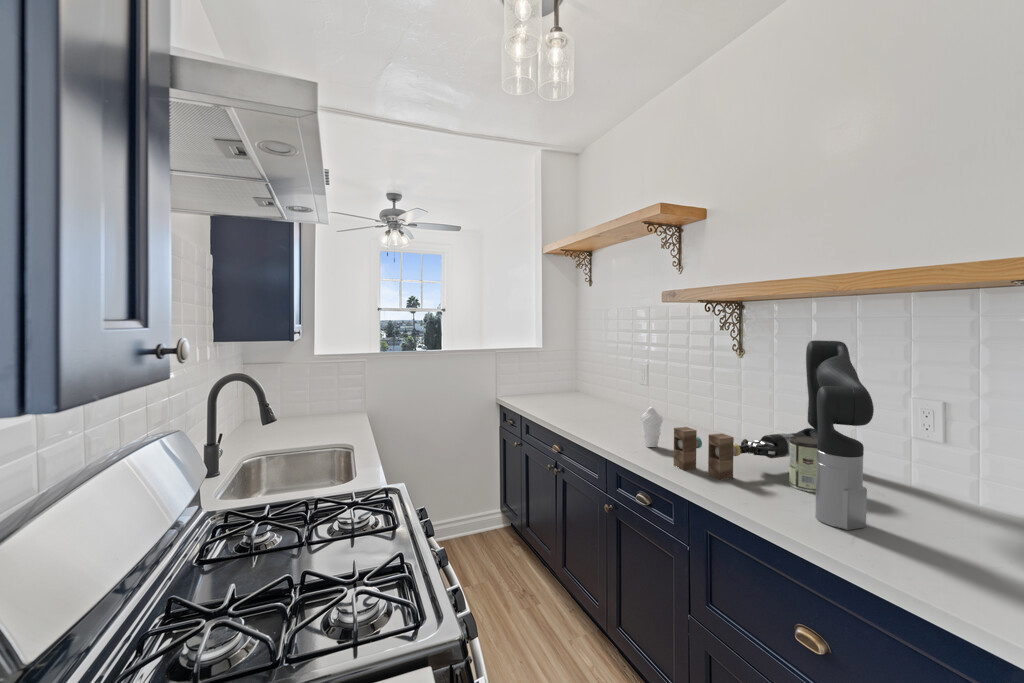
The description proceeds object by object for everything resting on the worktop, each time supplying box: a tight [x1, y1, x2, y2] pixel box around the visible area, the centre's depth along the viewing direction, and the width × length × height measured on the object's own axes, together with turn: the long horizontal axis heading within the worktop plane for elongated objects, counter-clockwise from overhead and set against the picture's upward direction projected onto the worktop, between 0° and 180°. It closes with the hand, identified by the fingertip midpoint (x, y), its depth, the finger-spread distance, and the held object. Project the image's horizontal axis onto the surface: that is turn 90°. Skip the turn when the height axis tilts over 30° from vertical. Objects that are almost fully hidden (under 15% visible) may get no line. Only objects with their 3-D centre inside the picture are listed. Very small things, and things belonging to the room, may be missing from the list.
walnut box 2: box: [707, 432, 735, 481], centre depth 143 cm, size 5×5×13 cm
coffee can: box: [788, 436, 817, 494], centre depth 134 cm, size 10×10×14 cm
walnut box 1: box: [673, 426, 698, 471], centre depth 152 cm, size 5×5×13 cm
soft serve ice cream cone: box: [640, 406, 664, 448], centre depth 177 cm, size 8×8×16 cm
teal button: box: [678, 436, 703, 449], centre depth 153 cm, size 4×7×4 cm, turn 106°
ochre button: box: [715, 443, 741, 457], centre depth 144 cm, size 4×7×4 cm, turn 106°
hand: (736, 449), depth 145 cm, fingers closed
